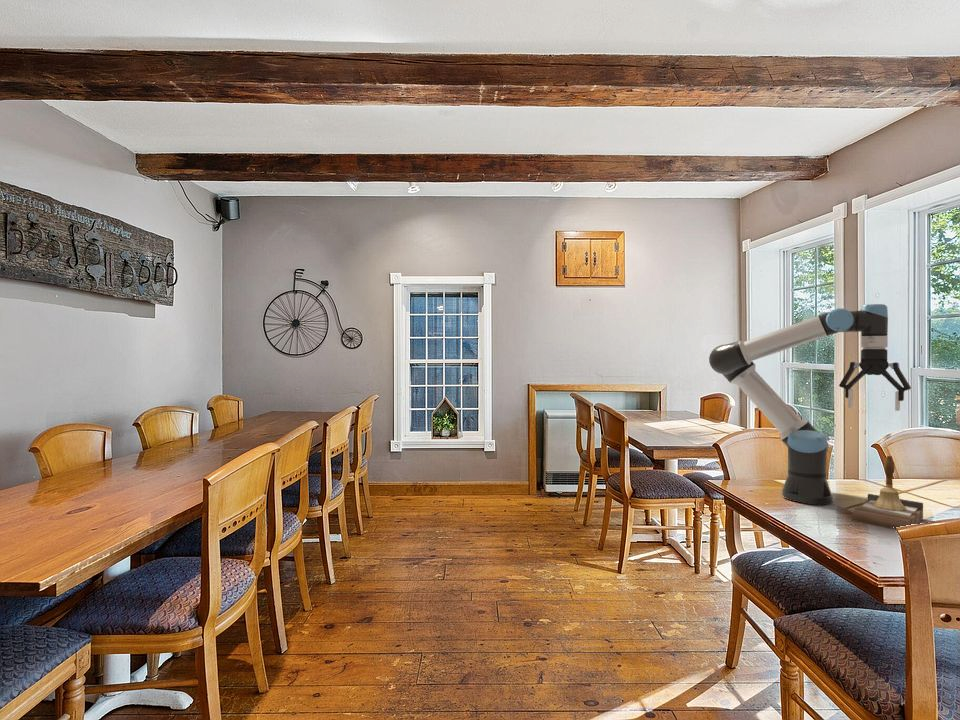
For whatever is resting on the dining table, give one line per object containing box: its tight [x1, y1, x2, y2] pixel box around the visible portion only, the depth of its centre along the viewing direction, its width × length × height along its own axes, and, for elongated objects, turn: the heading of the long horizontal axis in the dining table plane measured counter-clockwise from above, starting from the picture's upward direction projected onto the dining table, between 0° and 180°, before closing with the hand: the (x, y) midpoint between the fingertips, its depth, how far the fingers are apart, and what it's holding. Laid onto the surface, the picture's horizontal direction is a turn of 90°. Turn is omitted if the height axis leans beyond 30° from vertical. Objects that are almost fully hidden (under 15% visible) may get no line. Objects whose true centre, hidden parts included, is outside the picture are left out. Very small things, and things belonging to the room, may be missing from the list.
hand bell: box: [873, 455, 906, 511], centre depth 166 cm, size 8×8×16 cm
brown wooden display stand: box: [851, 493, 924, 529], centre depth 165 cm, size 18×14×5 cm
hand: (873, 408), depth 187 cm, fingers open, 13 cm apart
